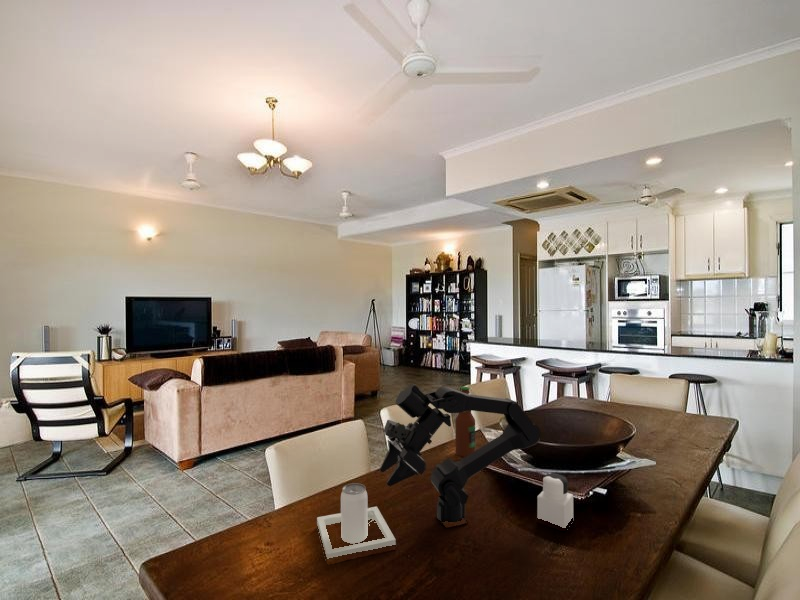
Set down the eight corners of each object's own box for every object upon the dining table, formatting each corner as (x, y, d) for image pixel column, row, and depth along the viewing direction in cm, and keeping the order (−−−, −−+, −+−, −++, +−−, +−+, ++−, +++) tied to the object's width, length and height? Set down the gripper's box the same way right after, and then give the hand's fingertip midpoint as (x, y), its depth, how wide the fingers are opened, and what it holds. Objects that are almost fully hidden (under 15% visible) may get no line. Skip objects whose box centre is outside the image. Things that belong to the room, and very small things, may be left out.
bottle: (476, 458, 150) (476, 389, 150) (456, 457, 150) (456, 389, 150) (473, 450, 157) (473, 385, 157) (454, 450, 157) (454, 385, 157)
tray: (376, 515, 111) (376, 506, 111) (395, 550, 96) (395, 539, 96) (317, 527, 106) (316, 517, 106) (327, 565, 91) (326, 554, 91)
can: (341, 547, 96) (341, 496, 96) (340, 531, 102) (339, 483, 102) (369, 543, 97) (369, 493, 97) (366, 528, 104) (365, 481, 104)
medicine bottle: (546, 512, 112) (546, 468, 112) (573, 521, 108) (573, 475, 108) (536, 523, 107) (536, 477, 107) (564, 533, 102) (564, 485, 102)
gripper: (393, 401, 114) (356, 446, 111) (410, 417, 96) (366, 471, 93) (422, 426, 116) (386, 471, 113) (444, 447, 98) (401, 501, 95)
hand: (384, 477), depth 103 cm, fingers open, 9 cm apart
